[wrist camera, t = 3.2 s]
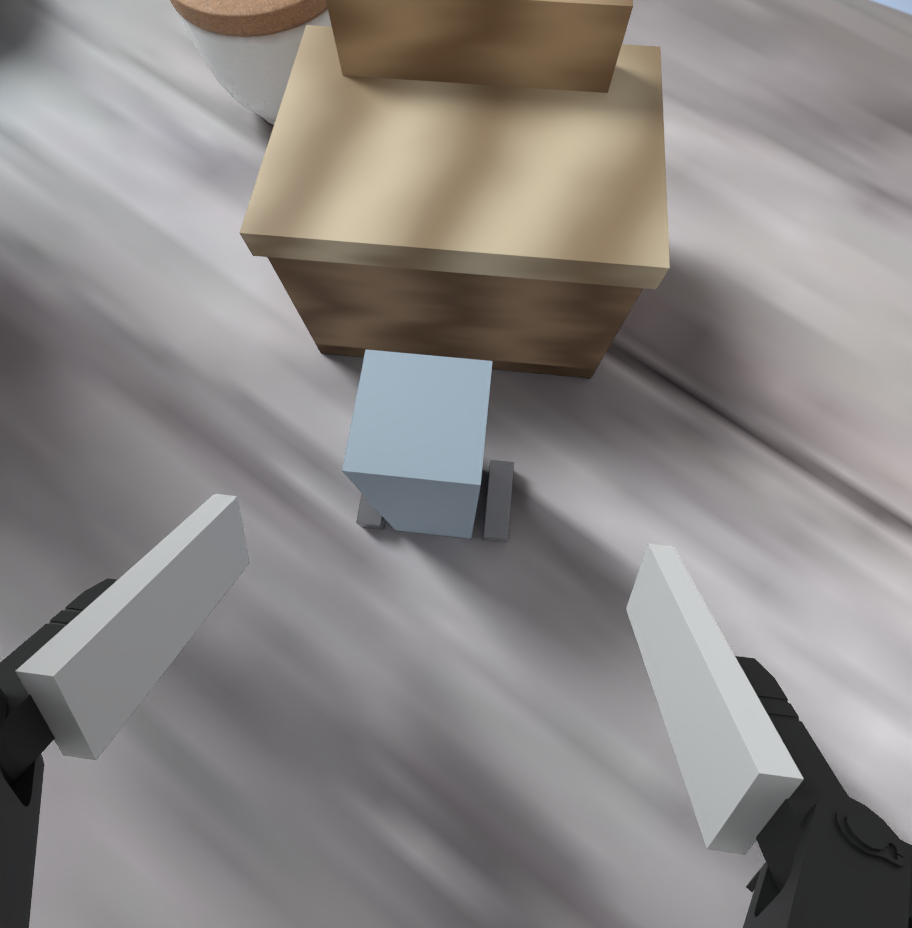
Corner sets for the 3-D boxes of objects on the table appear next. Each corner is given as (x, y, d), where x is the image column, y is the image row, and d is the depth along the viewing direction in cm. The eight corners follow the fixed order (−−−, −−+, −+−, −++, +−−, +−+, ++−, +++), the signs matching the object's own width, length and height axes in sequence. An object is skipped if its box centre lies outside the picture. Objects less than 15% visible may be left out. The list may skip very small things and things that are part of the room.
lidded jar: (363, 153, 31) (325, -27, 22) (213, 152, 31) (115, -27, 22) (375, 51, 34) (345, -142, 26) (239, 51, 35) (162, -142, 26)
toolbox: (320, 353, 26) (264, 251, 19) (356, 198, 30) (320, 60, 22) (590, 378, 26) (645, 283, 18) (594, 216, 29) (641, 81, 22)
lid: (252, 255, 19) (196, 160, 15) (313, 54, 22) (282, -65, 18) (656, 289, 18) (712, 199, 14) (649, 76, 22) (692, -44, 18)
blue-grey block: (395, 530, 23) (341, 470, 13) (406, 458, 24) (365, 349, 14) (471, 538, 23) (480, 485, 13) (478, 465, 24) (492, 360, 14)
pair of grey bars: (361, 526, 23) (356, 522, 22) (373, 455, 24) (369, 447, 23) (505, 542, 23) (508, 539, 22) (511, 468, 24) (513, 462, 23)
